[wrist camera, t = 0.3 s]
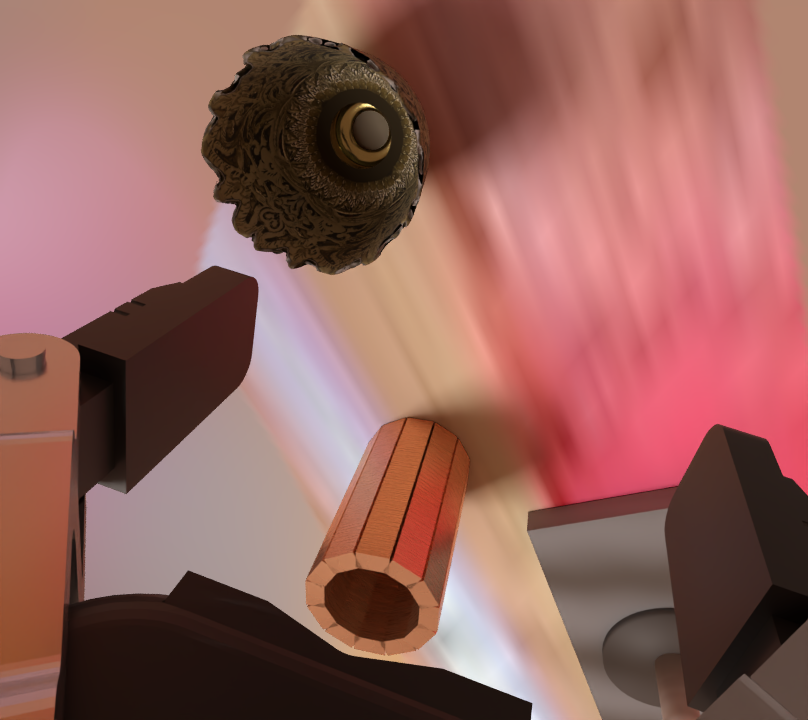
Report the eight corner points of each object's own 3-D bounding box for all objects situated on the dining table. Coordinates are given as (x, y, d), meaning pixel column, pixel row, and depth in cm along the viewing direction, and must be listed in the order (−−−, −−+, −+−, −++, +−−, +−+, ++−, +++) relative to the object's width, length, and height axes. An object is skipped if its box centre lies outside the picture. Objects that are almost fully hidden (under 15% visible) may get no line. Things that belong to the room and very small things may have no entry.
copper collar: (368, 411, 34) (304, 542, 26) (473, 427, 33) (443, 569, 25) (366, 494, 37) (307, 638, 28) (464, 511, 36) (433, 665, 27)
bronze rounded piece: (369, 248, 30) (312, 315, 23) (256, 123, 29) (159, 155, 22) (493, 138, 27) (470, 178, 20) (373, -11, 25) (302, -24, 18)
